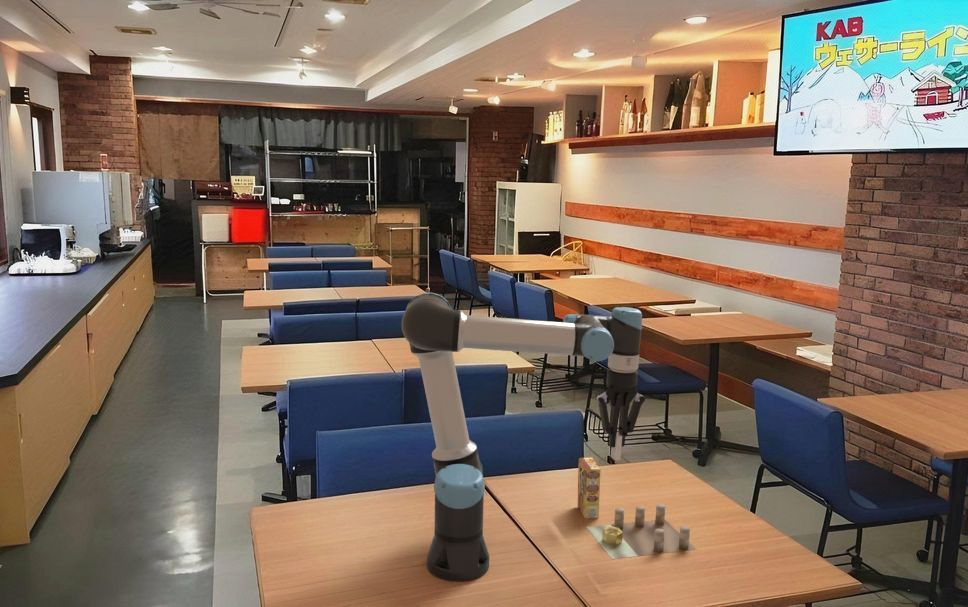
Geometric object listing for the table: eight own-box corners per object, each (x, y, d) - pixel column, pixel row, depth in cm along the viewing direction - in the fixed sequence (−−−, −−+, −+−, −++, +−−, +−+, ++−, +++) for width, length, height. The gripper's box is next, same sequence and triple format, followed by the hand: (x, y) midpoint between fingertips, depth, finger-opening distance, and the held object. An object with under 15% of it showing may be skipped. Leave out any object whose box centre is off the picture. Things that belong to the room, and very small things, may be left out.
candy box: (599, 521, 202) (601, 469, 199) (584, 522, 201) (586, 469, 199) (590, 507, 210) (592, 456, 208) (575, 508, 210) (578, 457, 207)
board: (611, 563, 180) (613, 539, 179) (585, 531, 196) (586, 509, 195) (696, 553, 186) (698, 530, 185) (664, 523, 202) (665, 502, 201)
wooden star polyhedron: (608, 546, 186) (608, 536, 185) (600, 537, 191) (600, 527, 190) (624, 544, 187) (624, 534, 186) (615, 535, 192) (616, 525, 191)
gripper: (604, 373, 179) (597, 465, 183) (653, 372, 182) (645, 462, 186) (592, 365, 186) (586, 454, 190) (640, 365, 189) (632, 452, 193)
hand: (615, 458), depth 188 cm, fingers closed
